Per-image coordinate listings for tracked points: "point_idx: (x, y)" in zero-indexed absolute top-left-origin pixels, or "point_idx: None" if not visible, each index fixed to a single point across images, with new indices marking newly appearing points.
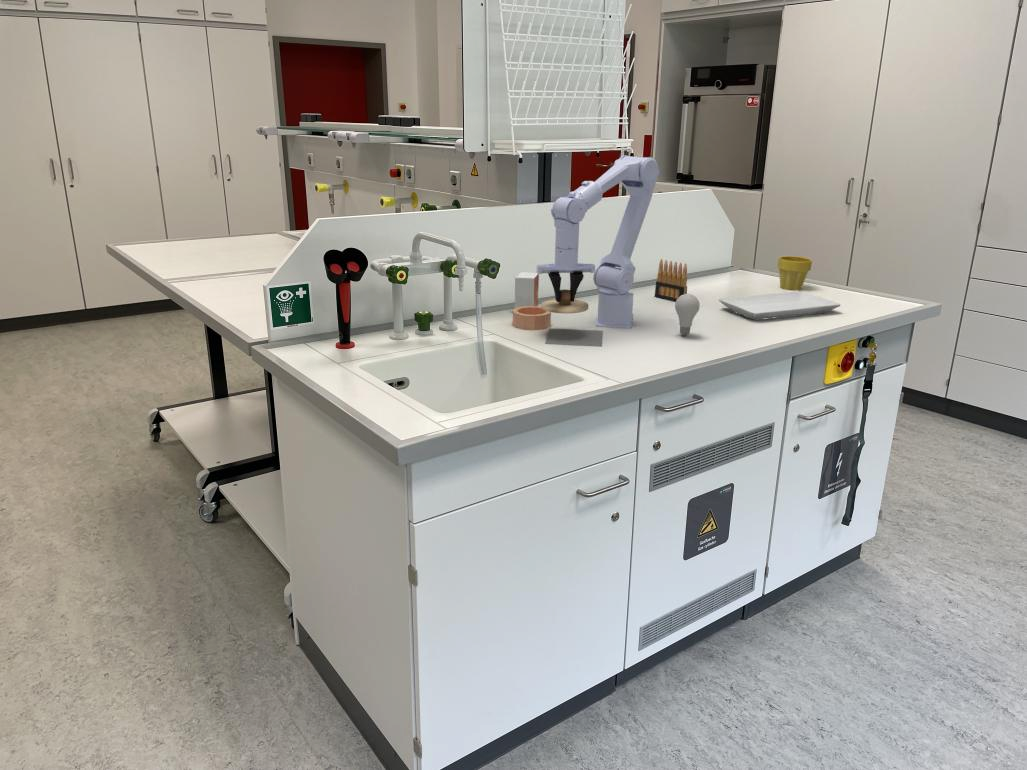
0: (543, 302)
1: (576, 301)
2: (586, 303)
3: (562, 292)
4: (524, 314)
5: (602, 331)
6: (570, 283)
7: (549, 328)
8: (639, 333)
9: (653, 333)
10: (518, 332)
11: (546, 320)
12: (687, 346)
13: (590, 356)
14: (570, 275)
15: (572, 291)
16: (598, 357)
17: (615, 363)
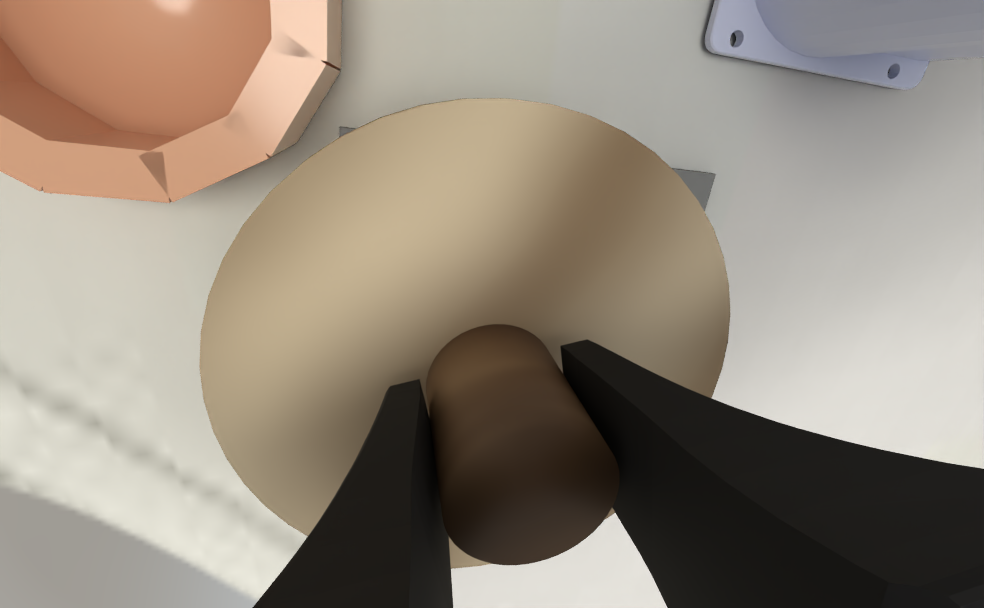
0: (222, 332)
1: (640, 244)
2: (719, 321)
3: (486, 554)
4: (18, 145)
5: (708, 193)
6: (681, 468)
7: (340, 136)
8: (897, 190)
9: (964, 184)
10: (86, 231)
11: (300, 121)
12: (974, 378)
13: (551, 562)
14: (813, 596)
15: (628, 524)
16: (581, 564)
17: (628, 603)
